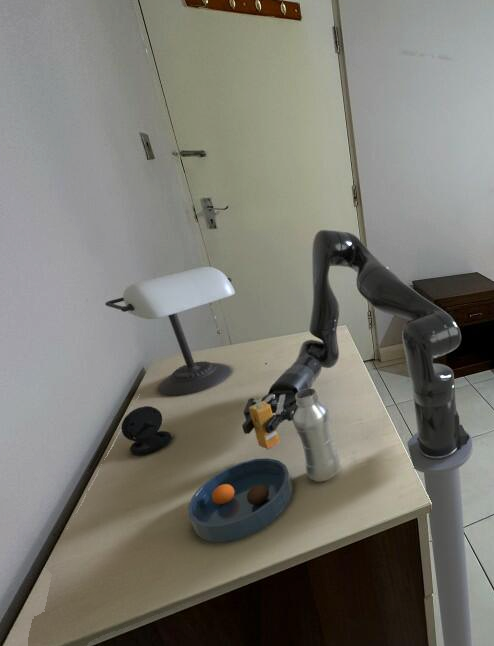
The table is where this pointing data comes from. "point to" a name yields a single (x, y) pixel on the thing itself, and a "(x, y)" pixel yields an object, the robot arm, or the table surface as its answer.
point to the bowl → (240, 501)
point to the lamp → (168, 300)
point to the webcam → (145, 430)
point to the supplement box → (263, 424)
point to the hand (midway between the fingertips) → (256, 429)
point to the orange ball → (223, 494)
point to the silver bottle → (315, 436)
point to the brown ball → (257, 494)
